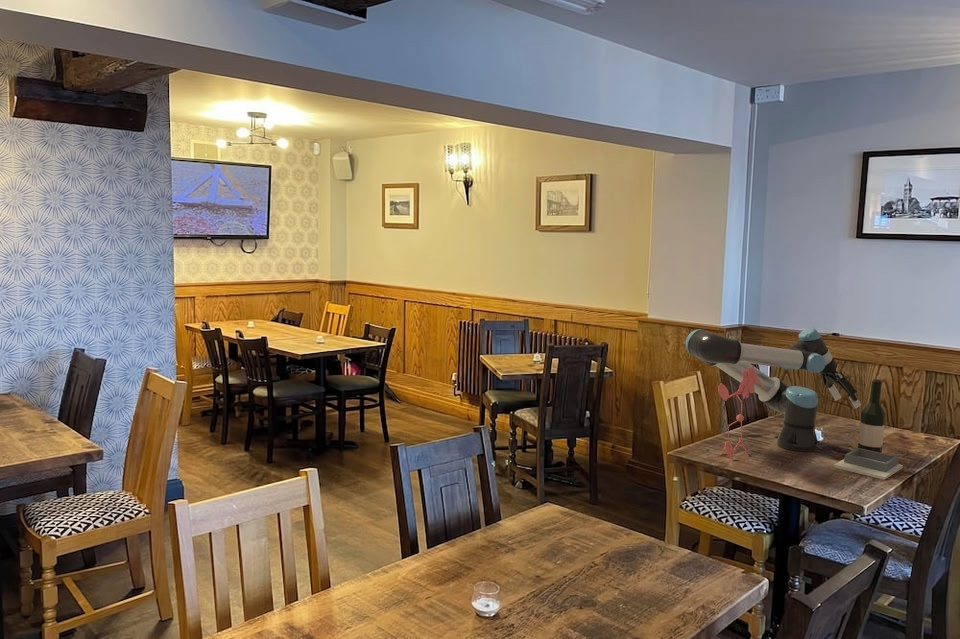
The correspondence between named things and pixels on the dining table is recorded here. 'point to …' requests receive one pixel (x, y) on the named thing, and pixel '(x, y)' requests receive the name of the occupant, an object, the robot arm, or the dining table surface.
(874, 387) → the wine bottle
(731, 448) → the pink wire flower sculpture
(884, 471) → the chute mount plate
